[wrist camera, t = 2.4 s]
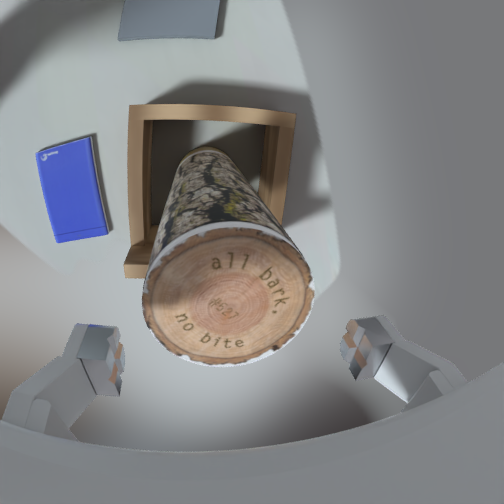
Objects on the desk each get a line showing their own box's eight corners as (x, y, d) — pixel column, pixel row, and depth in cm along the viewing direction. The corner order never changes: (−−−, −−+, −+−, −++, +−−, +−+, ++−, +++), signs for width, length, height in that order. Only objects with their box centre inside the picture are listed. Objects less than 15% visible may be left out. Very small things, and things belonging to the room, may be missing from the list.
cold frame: (140, 236, 34) (125, 278, 26) (141, 106, 27) (118, 103, 19) (264, 237, 38) (286, 277, 29) (279, 113, 31) (311, 114, 22)
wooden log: (208, 134, 31) (241, 183, 9) (246, 176, 34) (342, 304, 12) (165, 173, 32) (107, 308, 10) (203, 212, 35) (225, 385, 13)
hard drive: (34, 153, 26) (55, 243, 31) (88, 137, 27) (107, 235, 33) (39, 151, 27) (60, 239, 33) (93, 135, 28) (110, 230, 34)
